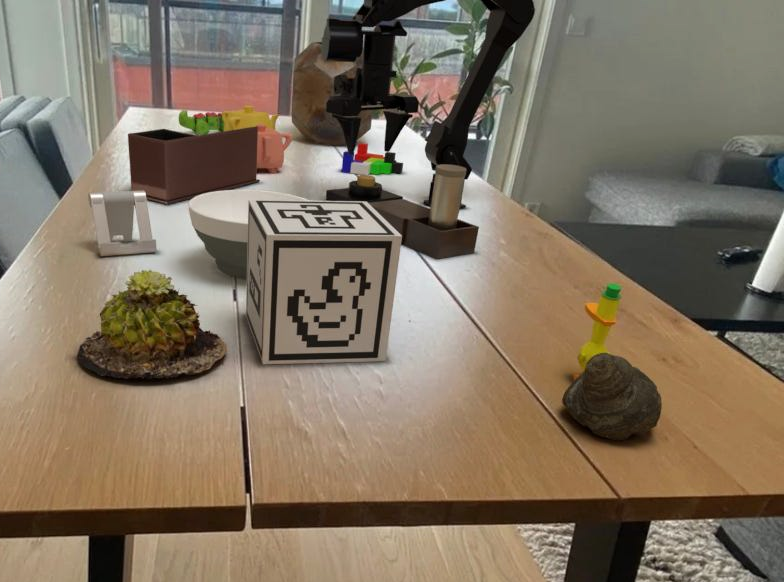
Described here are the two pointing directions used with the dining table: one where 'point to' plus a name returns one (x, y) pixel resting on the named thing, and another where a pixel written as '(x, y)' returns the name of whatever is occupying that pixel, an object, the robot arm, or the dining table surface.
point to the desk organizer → (191, 162)
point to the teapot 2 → (271, 148)
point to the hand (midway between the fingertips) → (369, 153)
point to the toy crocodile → (202, 122)
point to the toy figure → (600, 323)
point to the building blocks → (370, 162)
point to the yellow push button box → (361, 193)
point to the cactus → (150, 333)
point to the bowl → (228, 225)
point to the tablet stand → (121, 221)
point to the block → (320, 280)
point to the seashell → (613, 398)
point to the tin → (446, 196)
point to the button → (366, 180)
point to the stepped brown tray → (427, 230)
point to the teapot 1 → (247, 119)
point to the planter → (321, 96)
